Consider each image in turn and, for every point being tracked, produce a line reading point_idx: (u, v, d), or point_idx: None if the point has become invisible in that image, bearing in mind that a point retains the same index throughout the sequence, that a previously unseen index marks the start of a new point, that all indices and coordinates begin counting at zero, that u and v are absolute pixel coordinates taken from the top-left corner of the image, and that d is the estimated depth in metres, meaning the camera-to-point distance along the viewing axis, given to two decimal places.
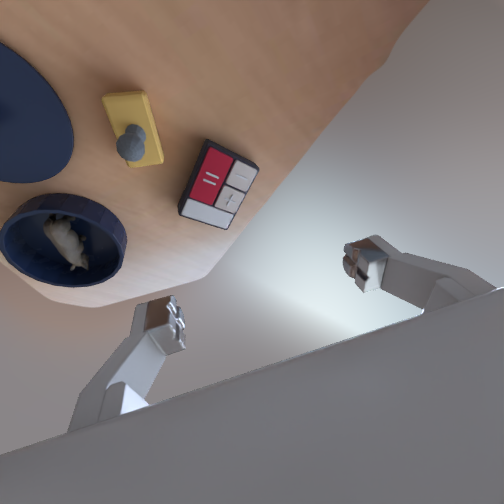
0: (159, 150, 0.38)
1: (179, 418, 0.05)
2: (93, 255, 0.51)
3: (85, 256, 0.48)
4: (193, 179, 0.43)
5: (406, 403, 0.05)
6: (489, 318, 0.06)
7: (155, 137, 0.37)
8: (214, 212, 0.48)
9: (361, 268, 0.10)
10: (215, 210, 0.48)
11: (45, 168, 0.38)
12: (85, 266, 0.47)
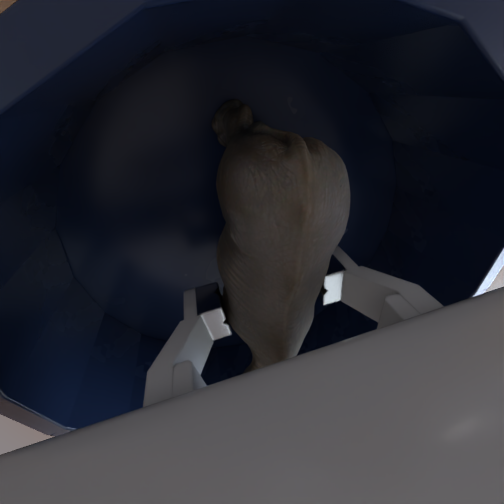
0: None
1: (179, 418, 0.05)
2: None
3: None
4: None
5: (406, 402, 0.05)
6: (489, 318, 0.06)
7: None
8: None
9: None
10: None
11: None
12: None
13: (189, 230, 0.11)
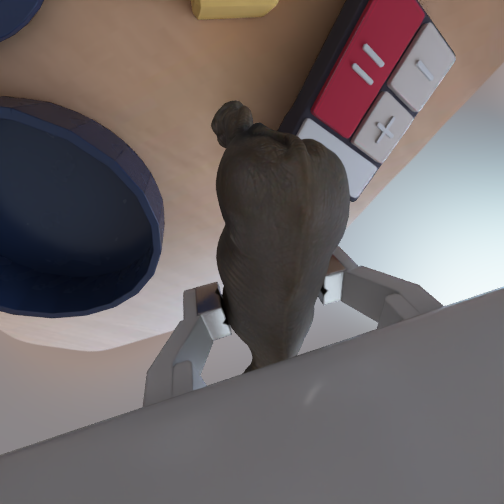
0: None
1: (179, 418, 0.05)
2: (99, 254, 0.27)
3: None
4: (328, 67, 0.19)
5: (406, 403, 0.05)
6: (489, 318, 0.06)
7: None
8: (347, 158, 0.23)
9: None
10: (350, 153, 0.23)
11: None
12: None
13: (18, 197, 0.22)
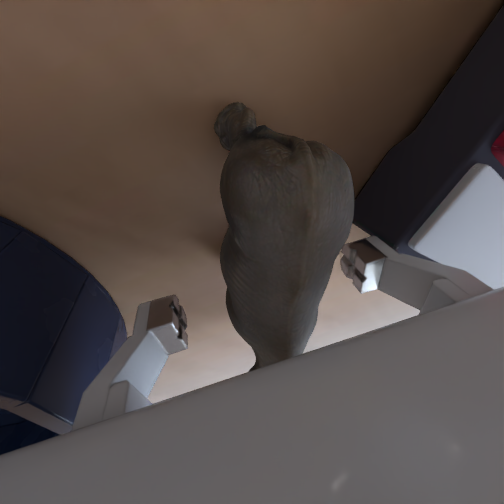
0: None
1: (179, 418, 0.05)
2: None
3: None
4: None
5: (406, 403, 0.05)
6: (489, 318, 0.06)
7: None
8: None
9: (358, 269, 0.10)
10: None
11: None
12: None
13: None
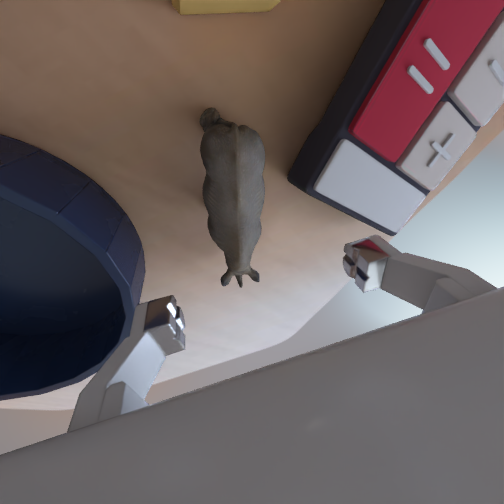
0: None
1: (179, 418, 0.05)
2: (64, 308, 0.21)
3: None
4: (375, 71, 0.14)
5: (406, 403, 0.05)
6: (489, 318, 0.06)
7: None
8: (391, 186, 0.18)
9: (361, 268, 0.10)
10: (395, 180, 0.18)
11: None
12: (257, 275, 0.19)
13: None
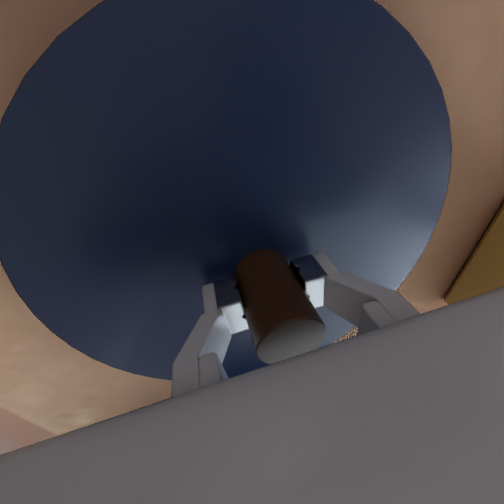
0: None
1: (179, 418, 0.05)
2: None
3: None
4: None
5: (405, 403, 0.05)
6: (489, 318, 0.06)
7: None
8: None
9: (302, 286, 0.10)
10: None
11: None
12: None
13: None
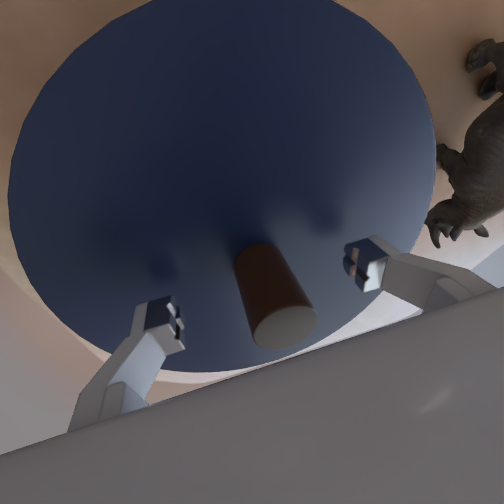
0: None
1: (179, 418, 0.05)
2: None
3: None
4: None
5: (405, 403, 0.05)
6: (489, 318, 0.06)
7: None
8: None
9: (361, 268, 0.10)
10: None
11: None
12: (486, 230, 0.17)
13: None
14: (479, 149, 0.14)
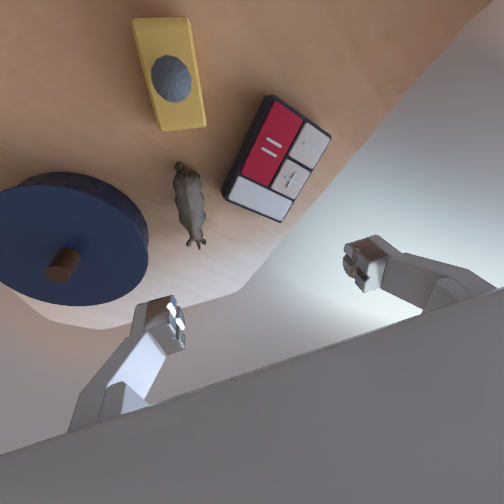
0: (202, 107, 0.28)
1: (179, 418, 0.05)
2: None
3: (201, 230, 0.38)
4: (248, 148, 0.32)
5: (406, 402, 0.05)
6: (489, 318, 0.06)
7: (199, 86, 0.27)
8: (269, 197, 0.36)
9: (361, 268, 0.10)
10: (271, 194, 0.36)
11: (115, 291, 0.37)
12: (204, 241, 0.37)
13: None
14: (177, 207, 0.34)
